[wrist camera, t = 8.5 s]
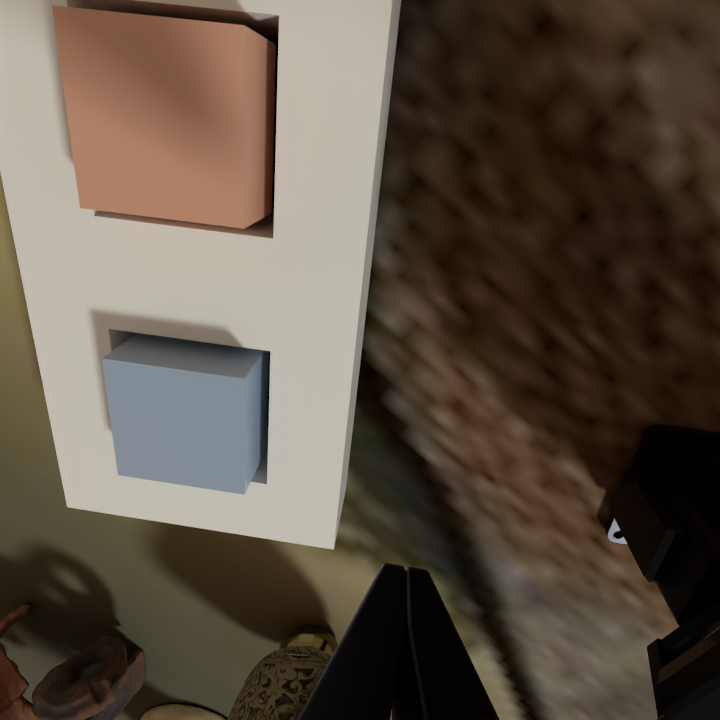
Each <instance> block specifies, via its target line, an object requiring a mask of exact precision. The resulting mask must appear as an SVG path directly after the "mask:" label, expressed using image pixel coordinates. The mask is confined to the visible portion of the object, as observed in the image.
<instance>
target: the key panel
mask: <svg viewBox="0 0 720 720" xmlns="http://www.w3.org/2000/svg"><path fill="white" fill-rule="evenodd" d="M52 5H54V6H64V7H73V8H83V9H93V10H102V11H112V12H122V13H131V14H141V15H151V16H160V17H170V18H180V19H189V20H199V21H209V22H218V23H228V24H238V25H245V26H247V27H248V28H250V29H251V30H253V31H255V32H256V33H258V34H260V35H266V36H275V37H278V76H277V115H276V154H275V192H274V215H268V216H266V217H264V218H263V219H261V220H259V221H257V222H255V223H254V224H252V225H250V226H248V227H247V228H245V229H242V228H234V227H226V226H218V225H210V224H202V223H194V222H186V221H178V220H170V219H162V218H154V217H147V216H139V215H131V214H123V213H115V212H107V211H99V210H91V209H83V208H80V204H79V197H78V190H77V182H76V175H75V168H74V161H73V153H72V146H71V139H70V132H69V124H68V117H67V110H66V103H65V96H64V88H63V81H62V74H61V67H60V59H59V52H58V45H57V38H56V30H55V23H54V16H53V9H52ZM400 7H401V0H0V172H1V177H2V182H3V187H4V192H5V197H6V203H7V208H8V213H9V218H10V223H11V228H12V233H13V238H14V243H15V248H16V253H17V258H18V263H19V268H20V273H21V278H22V283H23V288H24V293H25V298H26V303H27V308H28V313H29V318H30V323H31V328H32V333H33V338H34V343H35V348H36V353H37V358H38V363H39V368H40V373H41V378H42V383H43V388H44V393H45V398H46V403H47V408H48V413H49V418H50V423H51V428H52V433H53V438H54V443H55V448H56V453H57V458H58V463H59V468H60V473H61V478H62V483H63V488H64V493H65V498H66V503H67V507H70V508H76V509H82V510H88V511H95V512H101V513H107V514H114V515H120V516H126V517H132V518H139V519H145V520H151V521H158V522H164V523H170V524H176V525H183V526H189V527H195V528H201V529H208V530H214V531H220V532H227V533H233V534H239V535H245V536H252V537H258V538H264V539H271V540H277V541H283V542H289V543H296V544H302V545H308V546H315V547H321V548H327V549H333V550H334V545H335V540H336V535H337V530H338V525H339V521H340V516H341V511H342V506H343V501H344V496H345V491H346V483H347V474H348V466H349V457H350V448H351V439H352V430H353V422H354V413H355V404H356V395H357V386H358V377H359V369H360V360H361V351H362V342H363V333H364V324H365V316H366V307H367V298H368V289H369V280H370V271H371V263H372V254H373V245H374V236H375V227H376V219H377V210H378V201H379V192H380V183H381V174H382V166H383V157H384V148H385V139H386V130H387V121H388V113H389V104H390V95H391V86H392V77H393V69H394V60H395V51H396V42H397V33H398V24H399V16H400ZM137 333H142V334H149V335H157V336H164V337H171V338H178V339H185V340H193V341H200V342H207V343H214V344H221V345H229V346H236V347H243V348H250V349H258V350H265V351H270V387H269V426H268V427H267V448H266V451H265V453H264V455H263V457H262V459H261V461H260V463H259V466H258V468H257V470H256V472H255V474H254V476H253V478H252V480H251V482H250V484H249V487H248V489H247V491H246V493H245V495H243V494H237V493H230V492H224V491H217V490H211V489H204V488H198V487H191V486H185V485H178V484H172V483H166V482H159V481H153V480H146V479H140V478H133V477H127V476H120V475H118V472H117V465H116V458H115V450H114V443H113V436H112V429H111V421H110V414H109V407H108V399H107V392H106V385H105V378H104V370H103V363H102V358H103V357H105V356H106V355H107V354H109V353H110V352H112V351H113V350H114V349H116V348H117V347H119V346H120V345H121V344H123V343H124V342H126V341H127V340H128V339H130V338H131V337H133V336H134V335H135V334H137Z"/></svg>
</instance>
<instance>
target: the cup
mask: <svg viewBox="0 0 720 720" xmlns="http://www.w3.org/2000/svg"><path fill="white" fill-rule="evenodd" d="M337 647H338V643H337V641H336V639H335V638H334V637H333V636H332V635H331V634H330V633H329V632H327V631H326V630H324V629H321V628H319V627H315V626H300V627H297V628H294V629H292V630H291V631H290V632H288V633H287V635H286V636H285V637H284V638H283V640H282V641H281V643H280V647H279V649H278V650H276V651H274V652H272V653H270V654H269V655H267V656H266V657H265V658H263V659H262V660H261V661H260V662H259V663H258V664H257V665H256V666H255V668H254V669H253V670H252V671H251V673H250V675H249V676H248V678H247V679H246V681H245V683H244V685H243V687H242V689H241V691H240V692H239V695H238V697H237V699H236V701H235V703H234V705H233V708H232V710H231V712H230V714H229V717H228V719H227V720H298V718H299V716H300V714H301V712H302V711H303V709H304V707H305V705H306V703H307V701H308V700H309V698H310V696H311V694H312V692H313V690H314V689H315V687H316V685H317V683H318V681H319V680H320V678H321V676H322V674H323V672H324V670H325V669H326V667H327V665H328V663H329V661H330V659H331V658H332V656H333V654H334V652H335V650H336V648H337Z"/></svg>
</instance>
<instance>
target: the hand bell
mask: <svg viewBox="0 0 720 720" xmlns="http://www.w3.org/2000/svg"><path fill="white" fill-rule="evenodd" d="M140 720H226V719H224V718H223V717H222V716H219V715H218V714H215V713H213V712H210V711H208V710H205V709H202V708H198V707H194V706H188V705H182V704H167V705H161V706H157V707H155V708H152V709H150V710H149V711H147V712H146V713H144V715H143V716H142V717H141V719H140Z"/></svg>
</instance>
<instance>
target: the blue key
mask: <svg viewBox="0 0 720 720" xmlns="http://www.w3.org/2000/svg"><path fill="white" fill-rule="evenodd" d="M102 363H103V370H104V378H105V385H106V392H107V399H108V407H109V414H110V421H111V429H112V436H113V443H114V450H115V458H116V465H117V472H118V475H120V476H127V477H133V478H140V479H146V480H153V481H159V482H166V483H172V484H178V485H185V486H191V487H198V488H204V489H211V490H217V491H224V492H230V493H237V494H243V495H245V493H246V491H247V489H248V487H249V484H250V482H251V480H252V478H253V476H254V474H255V472H256V470H257V468H258V466H259V463H260V461H261V459H262V457H263V455H264V453H265V451H266V448H267V407H268V365H269V351H265V350H258V349H250V348H243V347H236V346H229V345H221V344H214V343H207V342H200V341H193V340H185V339H178V338H171V337H164V336H157V335H149V334H142V333H137V334H135V335H134V336H133V337H131V338H130V339H128V340H127V341H126V342H124V343H123V344H121V345H120V346H119V347H117V348H116V349H114V350H113V351H112V352H110V353H109V354H107V355H106V356H105V357H103V358H102Z"/></svg>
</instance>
